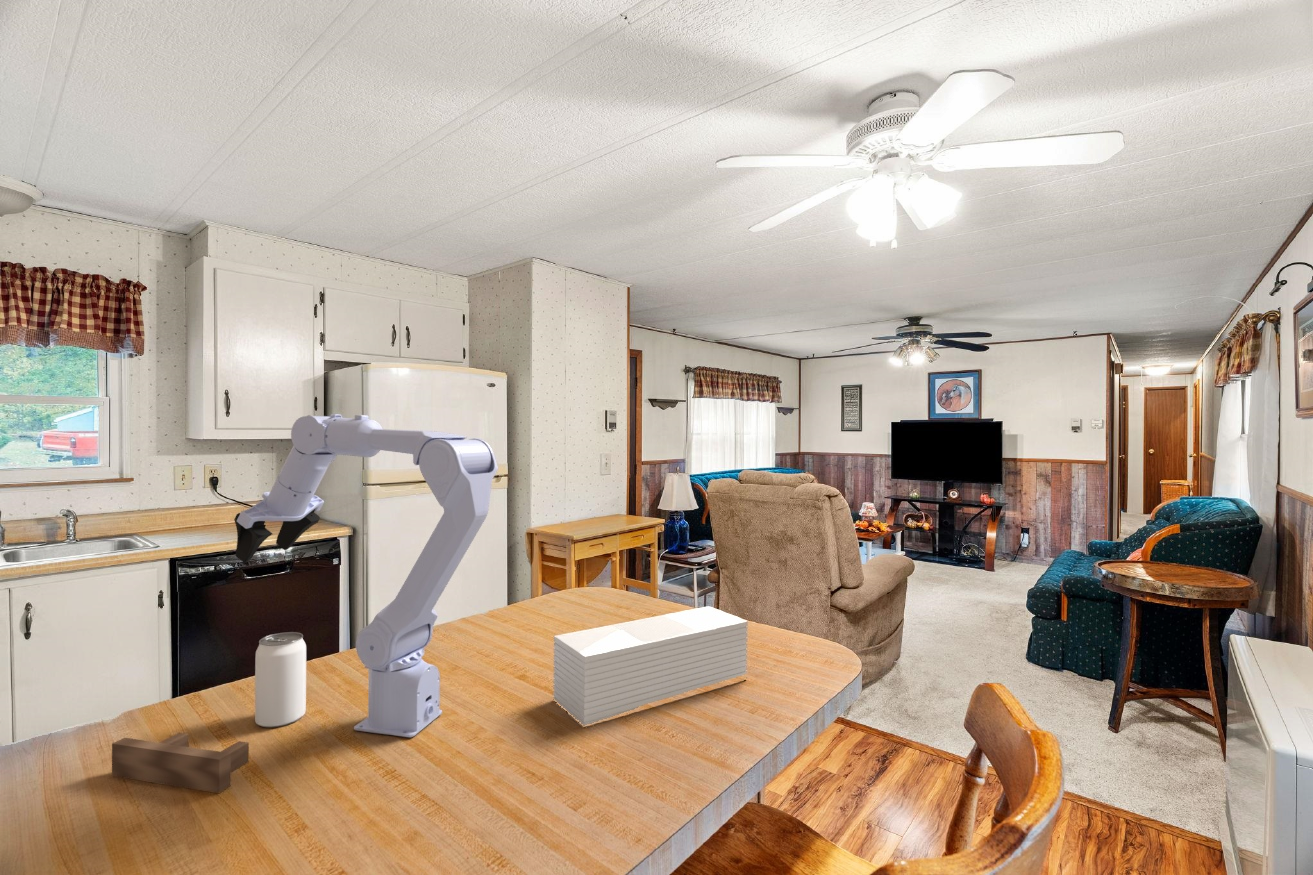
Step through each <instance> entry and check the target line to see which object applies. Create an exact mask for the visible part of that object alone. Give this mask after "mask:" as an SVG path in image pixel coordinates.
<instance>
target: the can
mask: <svg viewBox="0 0 1313 875" xmlns="http://www.w3.org/2000/svg"><path fill="white" fill-rule="evenodd" d="M303 638H304V635H303V633H301V632H297V631H295V632H294V631H289V632H288V631H287V632H280V633H279V632H278V633H274V634H269V635H266V636H264V637H262V638H261V639H259V641H258V643H259V644H258V646H257V649H256V651H255V659H254V660H255V661H254V662H255V665H254V670H255V671H254V695H255V696H254V698H255V699H254V720H255V721H254V722H255V723H256V725H258V726H259V727H262V728H267V729H270V728H271V729H272V728H273V729H275V728H280V727H284V726H288V725H291V724H294V723H296V722H297V721H299V720H301V719H302V717H303V716H304V715H305V714H306V708H307V644H306V642H305V640H304V639H303Z"/></svg>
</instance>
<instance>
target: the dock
mask: <svg viewBox="0 0 1313 875" xmlns="http://www.w3.org/2000/svg"><path fill="white" fill-rule="evenodd" d="M189 740H190V739H189V733H183V732H178V733H176V734H174V735H172V736H170V737H168V738H166V739H164V740H162V741H159V742H158V741H157V742H156V741H152V740H151V741H150V740H142V739H136V738H131V737H129V738H128V737H123V738H121V739H119V740H117V741H114V742H112V743H111V776H112V775H113V776H112V777H117V776H118V777H119V778H124V779H130V780H137V781H143V782H149V783H154V784H159V785H160V784H161V785H168V786H173V787H180V788H184V789H191V790H196V791H204V792H210V793H217V794H221V793H222V792H224V791H225V790H226V789H228V788H230V787H231V780H232V779H231V775H232V774H231V773H233V772H234V771H236V770H237V769H239V768H241V767H243V766H245V765H246V764H247V763H249V762H250V760H249V758H250V757H249V754H250V753H249V750H250V747H249V746H250V742H248V741H241V740H240V741H237V742H235V743H234V744H231V745H230V746H228V747H226V748H225V749H223V750H221V751H218V750H214V749H213V750H212V749H204V748H198V747H197V748H196V747H191V746H190V744H189ZM118 777H117V778H118Z"/></svg>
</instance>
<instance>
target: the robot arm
mask: <svg viewBox="0 0 1313 875" xmlns="http://www.w3.org/2000/svg"><path fill="white" fill-rule="evenodd" d="M290 438H291V442H292V448H291V450H290V451H289V454H288V455H287V458H286V459H285V461H284V464H283V466H281V469H280V472H279V474H278V475H277V477H276V480H275V482H274V484H273V486H272V488H271V489H270V491H266V492H265V491H264V492H263V494H262V496H261V497H262V500H261V501H259V502H257V503H255V504H254V505H252V506H251V507H249V508H246V509H245V510H241V511H240V512H238V513H237V514H236V515H235V516H234V520H233V521H234V524H235V526H236V528H235V529H236V532H237V534H236V536H237V537H236V538H237V540H236V541H237V542H236V549H235V555H234V556H235V557H236V558H237V559H238V560H240V561H241V562H243V563H244V564H245V563H249V562H250V561H251V559H252V558H253V557H254V555H255V554H256V552H257V551H258V550H259V547H260V546H261V545H262V544H263V543H264V541H266V540H267V539H268V538H269V537H270V536H272V535H273V532H271V531H270V530H269V529H267V527H266V526H267V525H266V524H265V523H266V522H282V524H281V527H280V530H279V532H278V534H277V537H276V540H275V544H276V545H277V546H278V547H280V549H282V550H283V551H286V550H289V549H290V548H291V547H292V546H293V545H294V544H295V542H296V541H298V539H299V538H300V537H301V536H302V535H303V534H304V533H306V532H307V530H309V529H311V528H312V527H313V526H314V525H316V524H318V523H319V521H320V519H321V518H320V515H318V514H317V513H316V512H319V511H321V509H322V508H323V505H324V503H325V500H323V499H322V498H320V496H318V495H316V494H315V493H316V491H317V489H318V487H319V486H320V483H321V482H322V480H323V478H324V476H325V474H326V472H327V470H328V468H329V467H330V465H331V463H332V462H334V461H335V459H337V456H349V457H359V458H372V457H375V456H376V455H377V454H379V453H380V451H384V452H385V451H386V452H393V453H401V454H407V455H412V456H413V457H412V458H413V459H412V462H413V465H414V466H419V470H420V474H421V476H422V477H423V479H424V481H425V483H426V484H427V486H428V487H429V489H430V491H431V492H432V494H433V496H434V497H435V499H436V500H437V502H438V504H439V505H440V507H442V508H443V514H442V515H441V517H440V520H439V521H438V522H437V524H436V526H435V528H434V529H433V531H432V533H431V535H430V537H429V539H428V541H427V542H426V543H425V546H424V547H423V549H422V550H421V552H420V554H419V556H418V558H417V560H416V562H415V563H414V565H413V567H412V568H411V570H410V572H409V574H408V576H406V579H405V580H404V583H403V584H402V586H401V588H400V590H399V591H398V592H397V595H396V596H395V598H394V599H393V600H392V601H391V602H390V603H389V604H387V605H386V606H385V607H384V608H382V609H381V610H380V611H378V613H377V614H375V616H374V618H373V619H372V621H371V622H370V623H369V624H368V625H366V626H364V627H362V629H360V631H359V632H358V634H357V637H356V641H355V650H356V653H357V654H356V655H357V656H358V658H359V660H360V662H361V663H362V664H363V665H364V668H365V669H368V687H367V688H368V689H367V690H368V696H367V698H368V700H367V702H368V705H367V708H368V710H367V711H368V712H367V716H368V717H366V718H365V719H363V720H362V721H360V722H359V723H357V724H356V725H354V727H353V729H354V730H355V731H358V732H367V733H372V734H373V733H374V734H381V735H382V734H383V735H387V736H388V735H390V736H396V737H403V738H412V737H415V736H416V735H417V734H418V733H420V732H421V731H422V730H423V729H424V728H426V727H427V726H428V725H429V724H430V723H432V722H433V721H434V720H436V719H437V718H438V717H439V716H440V715H442V714H443V710H442V709H440V698H441V697H440V696H441V694H440V691H441V690H440V689H441V688H440V687H441V686H440V685H441V683H440V680H441V678H440V675H441V674H440V672H439V668H438V667H437V666H436V665H434V664H432V663H428V662H426V661H424V659H423V658H422V657H423V656H424V655H425V648H426V647H427V646H428V645H429V644H430V642H431V641H432V638H433V633H434V631H433V630H434V626H435V622H436V621H437V619H438V617H439V616H438V614H437V612H436V609H434V607H435V606H436V604H437V602H438V601H439V599H440V597H441V596H442V594H443V592H444V590H445V589H446V588H447V585H448V584H449V582H450V581H451V579H452V577H453V575H454V574H455V572H456V570H457V568H458V567H459V565H460V564H461V561H462V560H463V558H464V556H465V555H466V553H467V551H468V550H469V548H470V547H471V544H472V543H473V541H474V539H475V538H476V536H477V534H478V533H479V531H480V529H481V527H482V526H483V524H484V522H485V520H486V518H487V516H488V514H489V510H490V509H489V507H490V500H491V499H490V498H491V491H492V490H491V489H492V483H493V479H494V477H495V476H496V474H497V472H498V471H499V466H498V463H497V460H496V456H495V453H494V451H493V448H492V447H491V446H490V444H489V443H488V442H487V441H485V440H483V439H481V438H469V439H467V438H468V436H465V435H461V434H455V433H448V432H443V431H442V432H441V431H435V430H434V431H433V430H411V429H387V428H383V427H382V425H381V424H380V422H378V421H376V420H374V419H370V417H369V415H366V414H365V415H364V414H355V415H354V417H343V416H342V414H337V413H335V414H334V413H332V414H330V415H327V416H326V415H323V416H322V415H312V414H309V415H306V416H300V417H299V418H297V419H296V420H295V422H294V423H293V424H292V427H291V432H290Z"/></svg>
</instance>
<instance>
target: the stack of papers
mask: <svg viewBox="0 0 1313 875" xmlns="http://www.w3.org/2000/svg"><path fill="white" fill-rule="evenodd" d="M748 625H749V624H748V620H746V619H743V618H741V617H738V616H736V615H733V614H730V613H727V612H725V611H723V610H721V609H717V608H715V607H712V606H710V605H709V606H708V605H707V606H702V607H699V608H693V609H687V610H682V611H677V612H671V613H665V614H661V615H655V616H652V617H646V618H640V619H635V620H631V621H626V622H619V623H614V624H609V625H608V624H607V625H605V626H604V625H603V626H600V627H599V626H598V627H593V628H588V629H582V630H577V631H573V632H572V631H571V632H567V633H563V634H557V635H554V636H553V647H554V648H553V681H552V682H553V686H552V688H553V691H552V692H553V694H552V695H553V697H552V698H554V699H555V700H556V701H557V702H558V703H559V704H560V705H561V706H563V708H565V709H566V710H567V711H568V712H569V713H570V714H571V715H573V717H575V719H577V720H579V722H581V724H583V726H585V725H587V724H592V723H594V722H598V721H599V720H603V719H607V718H610V717H613V716H615V715H619V714H621V713H624V712H627V711H630V710H634V709H635V708H638V707H639V706H643V705H645V704H648V703H652V702H655V701H659V700H662V699H666V698H669V697H673V696H675V695H679V694H682V693H684V692H688V691H690V690H695V689H697V688H702V687H704V686H709V685H712V684H715V683H719V682H721V681H725V680H728V679H732V678H736V677H738V676H742V675H745V674H747V675H748V671H747V670H748V666H747V665H748V660H747V659H748V649H747V648H748Z"/></svg>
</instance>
